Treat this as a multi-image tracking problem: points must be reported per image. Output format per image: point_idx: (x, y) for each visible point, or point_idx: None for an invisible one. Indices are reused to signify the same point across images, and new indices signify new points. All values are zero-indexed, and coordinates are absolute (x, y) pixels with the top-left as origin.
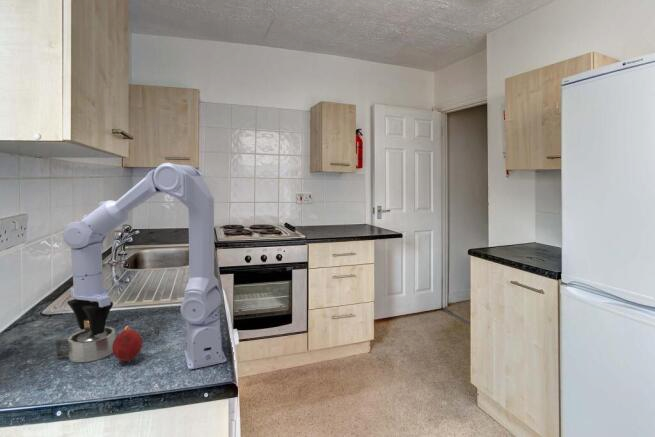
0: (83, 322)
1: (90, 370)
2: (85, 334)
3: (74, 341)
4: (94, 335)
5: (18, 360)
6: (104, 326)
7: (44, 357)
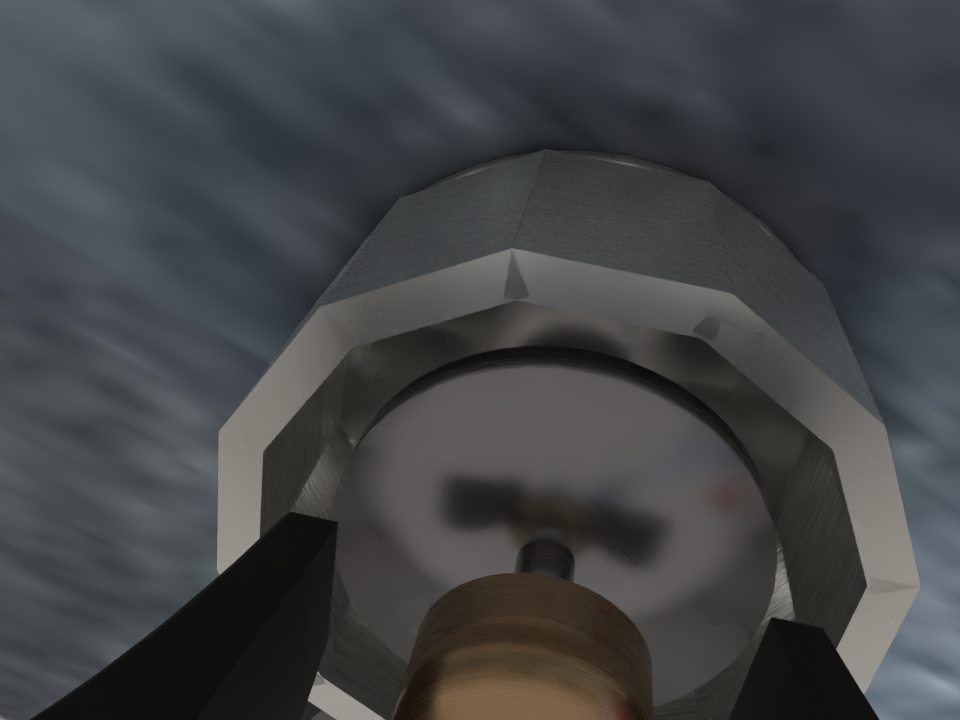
0: (281, 710)
1: (929, 661)
2: (388, 556)
3: (337, 585)
4: (572, 549)
5: (60, 686)
6: (872, 716)
7: (185, 603)
